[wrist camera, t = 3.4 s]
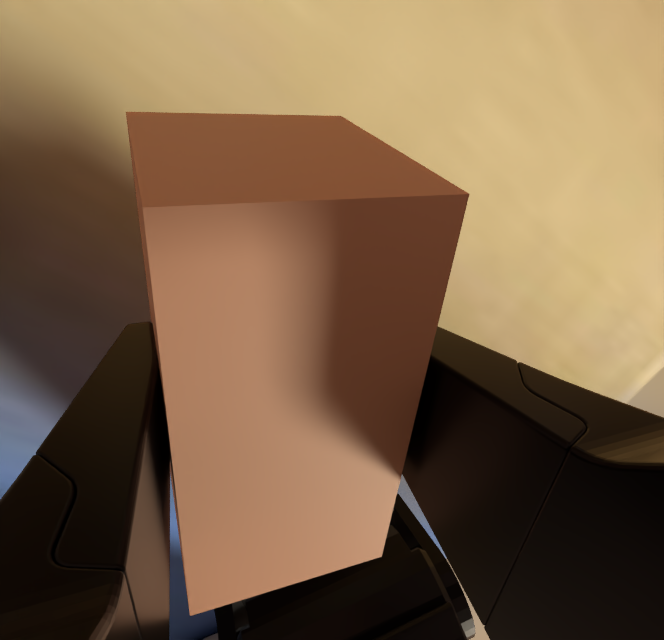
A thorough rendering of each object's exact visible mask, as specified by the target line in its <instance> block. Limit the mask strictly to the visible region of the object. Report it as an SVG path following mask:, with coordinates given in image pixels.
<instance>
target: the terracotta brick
mask: <svg viewBox="0 0 664 640" xmlns="http://www.w3.org/2000/svg"><path fill="white" fill-rule="evenodd" d="M126 117H127V125H128V133H129V142H130V150H131V158H132V166H133V174H134V183H135V191H136V199H137V207H138V216H139V224H140V232H141V240H142V248H143V257H144V265H145V273H146V281H147V289H148V298H149V306H150V314H151V322H152V323H153V330H154V336H155V343H156V349H157V356H158V362H159V371H160V379H161V387H162V396H163V404H164V412H165V421H166V429H167V437H168V445H169V454H170V474H171V481H172V489H173V496H174V503H175V510H176V518H177V525H178V532H179V539H180V547H181V554H182V561H183V569H184V576H185V583H186V590H187V598H188V605H189V612H190V616H192V615H195V614H199V613H202V612H205V611H208V610H212V609H215V608H218V607H221V606H224V605H228V604H231V603H234V602H237V601H241V600H244V599H247V598H250V597H253V596H257V595H260V594H263V593H266V592H269V591H273V590H276V589H279V588H282V587H286V586H289V585H292V584H295V583H298V582H302V581H305V580H308V579H311V578H315V577H318V576H321V575H324V574H327V573H331V572H334V571H337V570H340V569H344V568H347V567H350V566H353V565H356V564H360V563H363V562H366V561H369V560H373V559H376V558H379V557H382V554H383V549H384V545H385V541H386V537H387V533H388V529H389V525H390V520H391V516H392V512H393V508H394V504H395V500H396V496H397V491H398V487H399V483H400V479H401V475H402V471H403V467H404V462H405V458H406V454H407V450H408V446H409V442H410V438H411V433H412V429H413V425H414V421H415V417H416V413H417V409H418V404H419V400H420V396H421V392H422V388H423V384H424V380H425V375H426V371H427V367H428V363H429V359H430V355H431V351H432V346H433V342H434V338H435V334H436V330H437V326H438V322H439V317H440V313H441V309H442V305H443V301H444V297H445V292H446V288H447V284H448V280H449V276H450V272H451V268H452V263H453V259H454V255H455V251H456V247H457V243H458V239H459V234H460V230H461V226H462V222H463V218H464V214H465V210H466V205H467V201H468V197H469V194H468V193H467V192H465V191H464V190H462V189H460V188H459V187H457V186H455V185H454V184H452V183H450V182H449V181H447V180H445V179H444V178H442V177H440V176H439V175H437V174H436V173H434V172H432V171H431V170H429V169H427V168H426V167H424V166H422V165H421V164H419V163H417V162H416V161H414V160H412V159H411V158H409V157H408V156H406V155H404V154H403V153H401V152H399V151H398V150H396V149H394V148H393V147H391V146H389V145H388V144H386V143H384V142H383V141H381V140H380V139H378V138H376V137H375V136H373V135H371V134H370V133H368V132H366V131H365V130H363V129H361V128H360V127H358V126H356V125H355V124H353V123H351V122H350V121H348V120H347V119H345V118H343V117H342V116H311V115H259V114H207V113H155V112H126Z"/></svg>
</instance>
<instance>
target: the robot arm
mask: <svg viewBox="0 0 664 640" xmlns="http://www.w3.org/2000/svg"><path fill="white" fill-rule="evenodd" d="M402 474H403V476H404V478H405V480H406V482H407V484H408V486H409V487H410V489H411V491H412V493H413V495H414V497H415V499H416V501H417V502H418V504H419V506H420V508H421V510H422V512H423V514H424V516H425V517H426V519H427V521H428V523H429V525H430V527H431V529H432V531H433V532H434V534H435V536H436V538H437V540H438V542H439V544H440V546H441V547H442V549H443V551H444V553H445V555H446V557H447V559H448V561H449V562H450V564H451V566H452V568H453V570H454V572H455V574H456V575H457V577H458V579H459V581H460V583H461V585H462V587H463V588H464V591H465V592H466V594H467V596H468V598H469V600H470V602H471V604H472V606H473V607H474V609H475V611H476V613H477V615H478V617H479V619H480V620H481V622H482V624H483V625H485V627H484V628H485V631H486V632H487V634H488V636H489V638H490V640H664V418H663V417H661V416H657V415H655V414H652V413H649V412H647V411H644V410H641V409H639V408H636V407H633V406H631V405H628V404H625V403H622V402H620V401H617V400H614V399H611V398H609V397H606V396H603V395H601V394H598V393H595V392H593V391H590V390H587V389H585V388H582V387H579V386H577V385H574V384H571V383H569V382H566V381H564V380H561V379H559V378H557V377H554V376H552V375H549V374H547V373H544V372H542V371H540V370H537V369H535V368H533V367H530V366H528V365H526V364H524V363H521V362H519V363H517V361H516V360H514V359H512V358H510V357H507V356H505V355H503V354H500V353H498V352H496V351H493V350H491V349H489V348H486V347H484V346H482V345H479V344H477V343H475V342H473V341H470V340H468V339H466V338H463V337H461V336H459V335H456V334H454V333H452V332H450V331H447V330H445V329H443V328H440V327H438V326H437V330H436V334H435V338H434V342H433V346H432V351H431V355H430V359H429V363H428V367H427V371H426V375H425V380H424V384H423V388H422V392H421V396H420V400H419V404H418V409H417V413H416V417H415V421H414V425H413V429H412V433H411V438H410V442H409V446H408V450H407V454H406V458H405V462H404V467H403V471H402ZM169 580H170V454H169V445H168V437H167V429H166V421H165V412H164V404H163V396H162V387H161V379H160V371H159V362H158V356H157V349H156V343H155V336H154V330H153V323H151V322H142V323H134V324H128V325H127V326H126V327H125V328H124V330H123V331H122V333H121V334H120V335H119V337H118V338H117V340H116V341H115V342H114V344H113V345H112V347H111V348H110V349H109V351H108V352H107V354H106V355H105V356H104V358H103V359H102V361H101V362H100V363H99V365H98V366H97V368H96V369H95V370H94V372H93V373H92V375H91V376H90V377H89V379H88V380H87V382H86V383H85V384H84V386H83V387H82V389H81V390H80V391H79V393H78V394H77V396H76V397H75V398H74V400H73V401H72V403H71V404H70V405H69V407H68V408H67V410H66V411H65V412H64V414H63V415H62V417H61V418H60V419H59V421H58V422H57V424H56V425H55V426H54V428H53V429H52V430H51V432H50V433H49V435H48V436H47V437H46V439H45V440H44V442H43V443H42V444H41V446H40V447H39V449H38V450H37V452H36V455H34V456H33V457H32V458H31V459H30V461H29V462H28V464H27V465H26V466H25V468H24V469H23V471H22V472H21V473H20V475H19V476H18V477H17V479H16V480H15V481H14V483H13V484H12V485H11V487H10V488H9V489H8V491H7V492H6V493H5V494H4V496H3V497H2V498H1V500H0V640H169ZM214 610H215V616H216V621H217V629H218V640H469V639H471V638H473V637H474V636H475V625H474V622H473V618H472V615H471V611H470V608H469V606H468V603H467V601H466V598H465V596H464V593H463V591H462V589H461V587H460V585H459V582H458V580H457V578H456V577H455V575H454V573H453V571H452V569H451V567H450V565H449V564H448V562H447V560H446V559H445V557H444V556H443V554H442V553H441V551H440V550H439V548H438V547H437V546H436V544H435V543H434V542H433V540H432V539H431V538H430V536H429V535H428V533H427V532H426V531H425V529H424V528H423V527H422V525H421V524H420V523H419V521H418V520H417V519H416V517H415V516H414V514H413V513H412V512H411V510H410V509H409V508H408V506H407V505H406V504H405V502H404V501H403V499H402V498H401V497H400V495H399V494H397V496H396V500H395V504H394V508H393V512H392V516H391V520H390V525H389V529H388V533H387V537H386V541H385V545H384V549H383V554H382V557H379V558H376V559H373V560H369V561H366V562H363V563H360V564H356V565H353V566H350V567H347V568H344V569H340V570H337V571H334V572H331V573H327V574H324V575H321V576H318V577H315V578H311V579H308V580H305V581H302V582H298V583H295V584H292V585H289V586H286V587H282V588H279V589H276V590H273V591H269V592H266V593H263V594H260V595H257V596H253V597H250V598H247V599H244V600H241V601H237V602H234V603H231V604H228V605H224V606H221V607H218V608H215V609H214Z"/></svg>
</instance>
